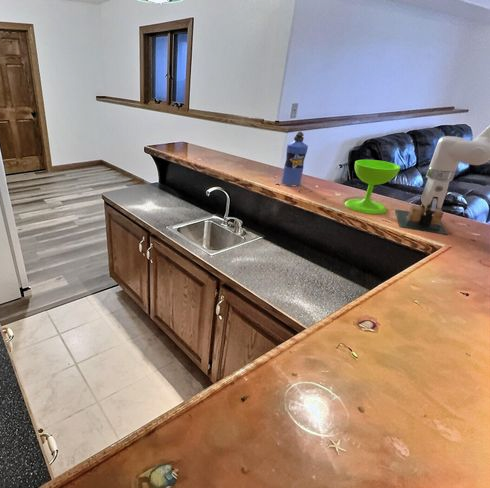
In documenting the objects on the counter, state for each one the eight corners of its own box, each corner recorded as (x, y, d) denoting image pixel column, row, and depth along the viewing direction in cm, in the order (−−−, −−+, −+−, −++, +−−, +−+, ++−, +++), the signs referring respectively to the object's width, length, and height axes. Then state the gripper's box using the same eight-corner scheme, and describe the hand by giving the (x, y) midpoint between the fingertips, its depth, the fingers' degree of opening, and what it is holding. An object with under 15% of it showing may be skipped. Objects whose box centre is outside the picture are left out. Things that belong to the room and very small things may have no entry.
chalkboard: (436, 217, 137) (437, 215, 136) (447, 237, 120) (448, 234, 120) (395, 211, 142) (395, 209, 142) (400, 229, 126) (401, 226, 125)
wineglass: (375, 217, 136) (389, 171, 128) (336, 205, 148) (347, 162, 140) (393, 208, 145) (408, 165, 137) (356, 198, 156) (367, 158, 148)
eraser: (436, 224, 128) (442, 208, 125) (439, 229, 124) (445, 213, 121) (404, 219, 132) (409, 204, 129) (406, 224, 128) (412, 209, 125)
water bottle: (278, 180, 180) (287, 130, 168) (297, 181, 179) (306, 130, 168) (283, 186, 171) (292, 133, 160) (302, 186, 171) (313, 134, 160)
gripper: (459, 182, 111) (439, 233, 119) (447, 169, 125) (430, 216, 133) (431, 178, 114) (413, 229, 122) (423, 167, 128) (407, 213, 136)
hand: (422, 222), depth 128 cm, fingers closed on eraser, 5 cm apart
